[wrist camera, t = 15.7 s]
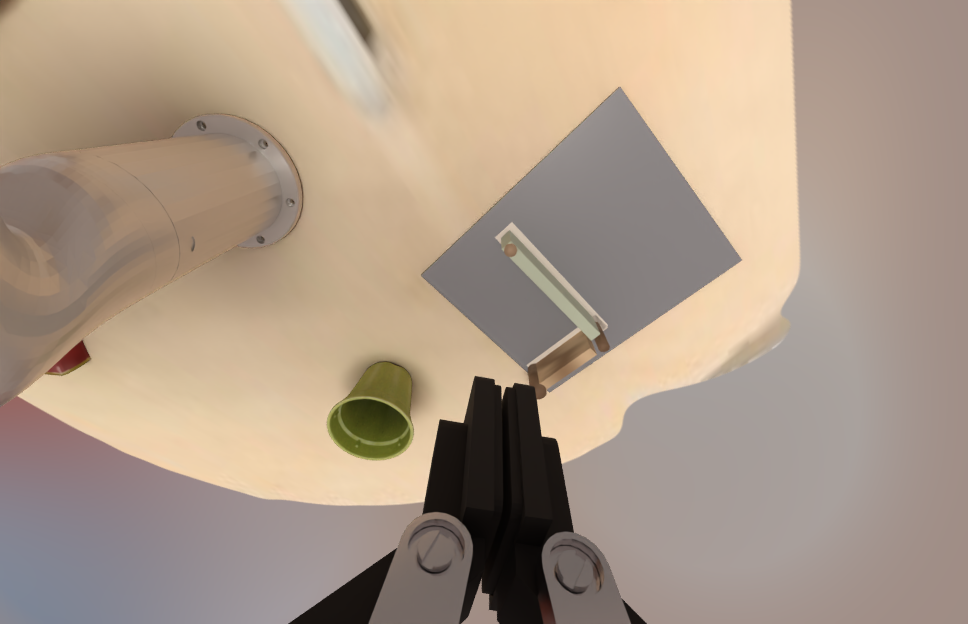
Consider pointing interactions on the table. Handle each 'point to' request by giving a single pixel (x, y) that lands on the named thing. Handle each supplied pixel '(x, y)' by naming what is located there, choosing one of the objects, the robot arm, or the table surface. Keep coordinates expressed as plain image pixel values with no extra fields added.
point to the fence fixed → (564, 361)
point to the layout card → (587, 241)
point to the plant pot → (375, 414)
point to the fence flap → (549, 284)
